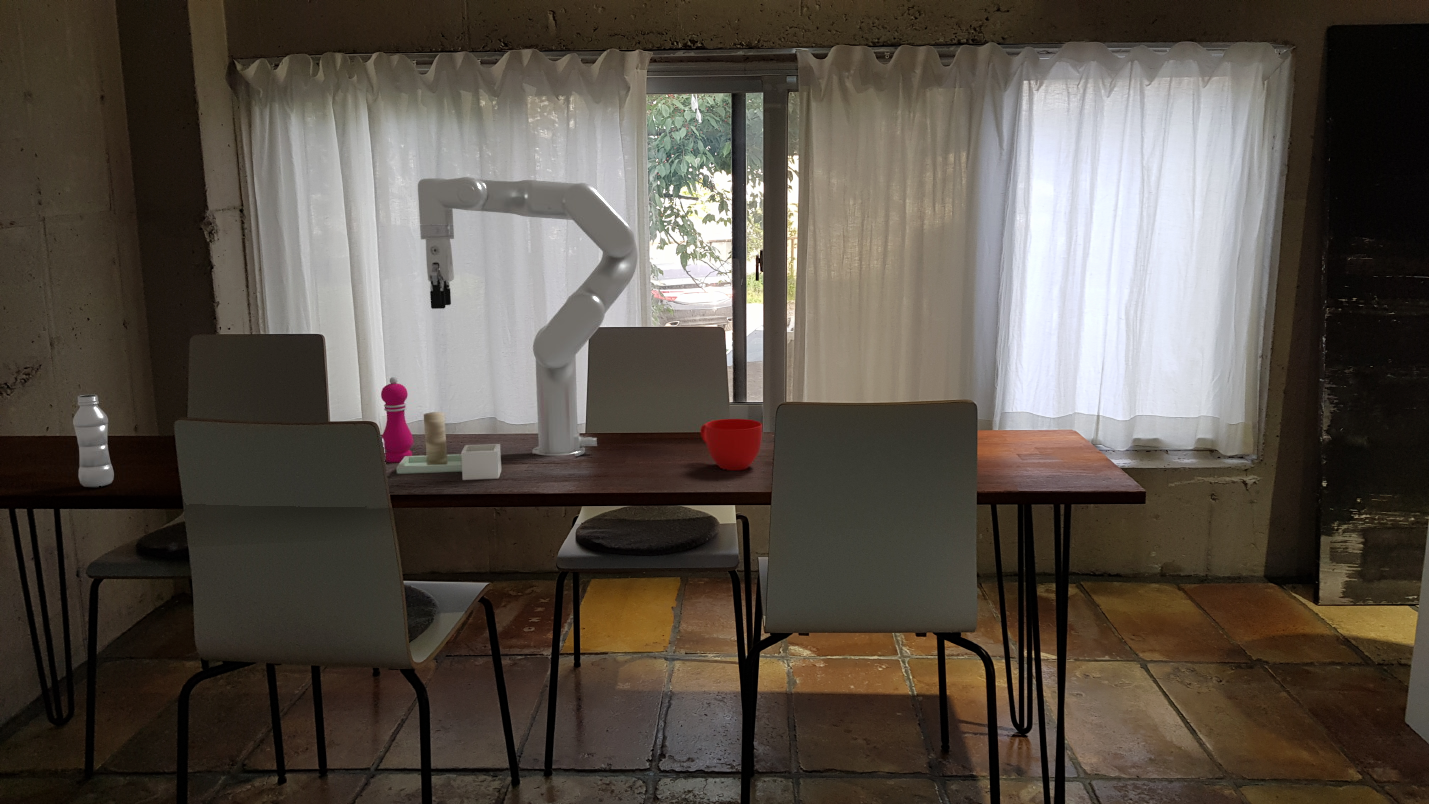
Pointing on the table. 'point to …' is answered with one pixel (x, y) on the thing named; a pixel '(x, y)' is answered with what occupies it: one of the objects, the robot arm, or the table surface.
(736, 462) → the ceramic cup
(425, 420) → the beige ringed cylinder
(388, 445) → the pepper mill
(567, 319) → the robot arm
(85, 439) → the plastic bottle
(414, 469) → the tray
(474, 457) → the box
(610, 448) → the table surface
